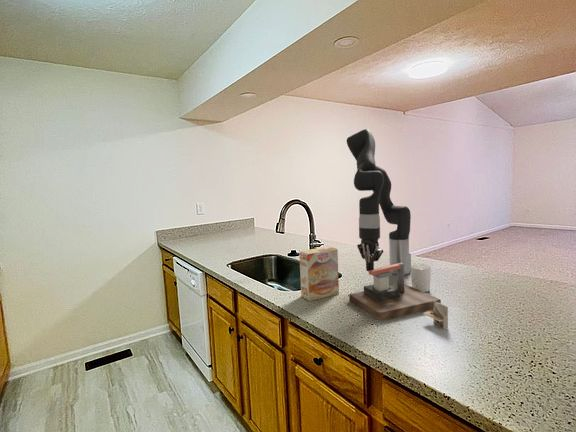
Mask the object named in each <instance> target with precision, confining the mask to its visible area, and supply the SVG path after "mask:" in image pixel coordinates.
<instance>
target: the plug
mask: <svg viewBox="0 0 576 432" xmlns="http://www.w3.org/2000/svg"><path fill="white" fill-rule="evenodd" d="M372 276H373V285H374V289H376V290H378V291H384V290H389V285H390V279H389V278H390V277H392V273H391V272H390V271H388V272H384V273H380V274H377V275H372Z"/></svg>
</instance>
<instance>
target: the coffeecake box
mask: <svg viewBox="0 0 576 432" xmlns="http://www.w3.org/2000/svg"><path fill="white" fill-rule="evenodd" d="M298 253H299V256H298V257H299V271H300V272H299V273H300V275H299V276H300V293H301V294H300V295H301V298H303V299H306V300H307V301H308V302H312V301H315V300H318V299H319V300H320V299H324V298H327V297H331V296H335V295H339V293H340V289H339V288H340V285H339V282H340V281H339V257H338V256H339V255H338V253H339V252H338V248H336V247H333V246H329V245H328V246H324V247H316V248H312V249H305V250H299V252H298Z"/></svg>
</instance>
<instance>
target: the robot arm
mask: <svg viewBox="0 0 576 432" xmlns="http://www.w3.org/2000/svg"><path fill="white" fill-rule="evenodd" d="M346 144H347V147H348V150H349V151H350V153H351V155H352V156H353V157H354V159H355V161H356V172H355V174H354V178H353V186H354V188H355V189H356V190H357V191H359V192H360V191H361V192H365V191H367V192H368V191H372V193H371V194H370V195H369V196H364V197H361V198H359V204H358V205H359V209H358V211H359V212H358V213H359V217H358V237H359V239H360V243H359V244H357V245H356V246H357V249H358V251H359V252H358V253H359V254H360V256H361V258H362V259H363V260H364V261H365V269H366V271H367V272H368V273H369V270H373V269H375V262H379V260H380V258H381V257H382V255H383V254H384V250H383V249H381V248H380V246H379V245H380V243H379V239H380V238H381V218H380V209H381V211H382V214H383V216H384V219H385V221H386V222H387V223H388V224H390V225H396V226H397V227H396V229H395V230H392V231H390V232H389V234H388V245H389V247H388V249H389V251H388V253H389V254H388V255H389V265H393V264H397V263H404V276H405V275H409V274H411V265H412V257H411V256H412V254H411V253H410V232H411V216H412V215H411V211H410V208H409V207H408V206H405V205H395V204H394V203H393V201H392V199H391V197H390V196H391V191H392V181H391V178H390V177H389V175H388V173H387V171H386V170H385V169H384V168H382V167H381V166H379V165H377V164H376V160H375V155H376V153H375V152H376V141H375V137H374V135H373V134H372V132H371V131H370V129H368V128H367V129H366V128H365V129H362V130H360V131H358V132H356V133H354V134H352V135H350V136H349V137H347V138H346ZM390 272H391V275H392V274H393V275H395V276H397V269H396V270H392V271H390Z"/></svg>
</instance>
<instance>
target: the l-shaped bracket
mask: <svg viewBox="0 0 576 432" xmlns="http://www.w3.org/2000/svg"><path fill="white" fill-rule="evenodd" d="M396 269H397V275H396V277H397V278H396V279H397V282H396V283H397V284H396V285H397V289H399V290H400V292H404V284H405V275H404V263H397V264H393V265H390V264H389V265H387V266H382V267H377V268H374V269H373V270H369V272H368V275H370V276H373V275H377V274H380V273H384V272H388V271H392V270H396Z"/></svg>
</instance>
